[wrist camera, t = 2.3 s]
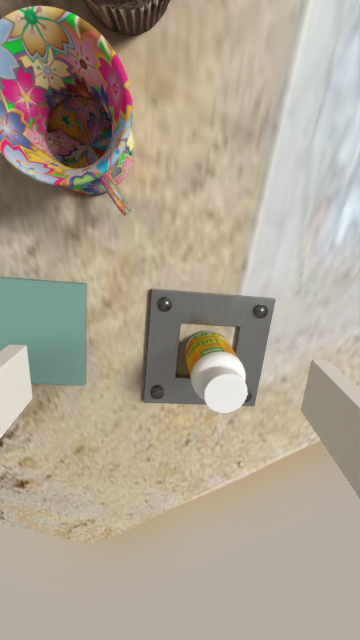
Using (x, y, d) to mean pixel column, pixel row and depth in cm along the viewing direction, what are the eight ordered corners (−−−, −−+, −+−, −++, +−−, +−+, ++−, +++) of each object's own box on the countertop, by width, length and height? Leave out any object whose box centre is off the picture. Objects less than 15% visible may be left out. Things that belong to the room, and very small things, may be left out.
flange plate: (252, 403, 38) (255, 407, 37) (144, 399, 37) (143, 403, 36) (273, 298, 34) (276, 299, 33) (151, 288, 33) (151, 290, 32)
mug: (15, 126, 27) (-65, 67, 17) (99, 65, 26) (67, -36, 16) (96, 242, 31) (69, 249, 20) (172, 191, 30) (183, 173, 20)
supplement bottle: (213, 320, 34) (236, 355, 25) (236, 354, 36) (266, 398, 27) (175, 346, 35) (183, 389, 26) (200, 378, 36) (216, 430, 27)
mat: (85, 383, 35) (84, 385, 35) (-23, 379, 34) (-26, 381, 33) (86, 283, 32) (85, 284, 31) (-35, 274, 30) (-38, 275, 30)
